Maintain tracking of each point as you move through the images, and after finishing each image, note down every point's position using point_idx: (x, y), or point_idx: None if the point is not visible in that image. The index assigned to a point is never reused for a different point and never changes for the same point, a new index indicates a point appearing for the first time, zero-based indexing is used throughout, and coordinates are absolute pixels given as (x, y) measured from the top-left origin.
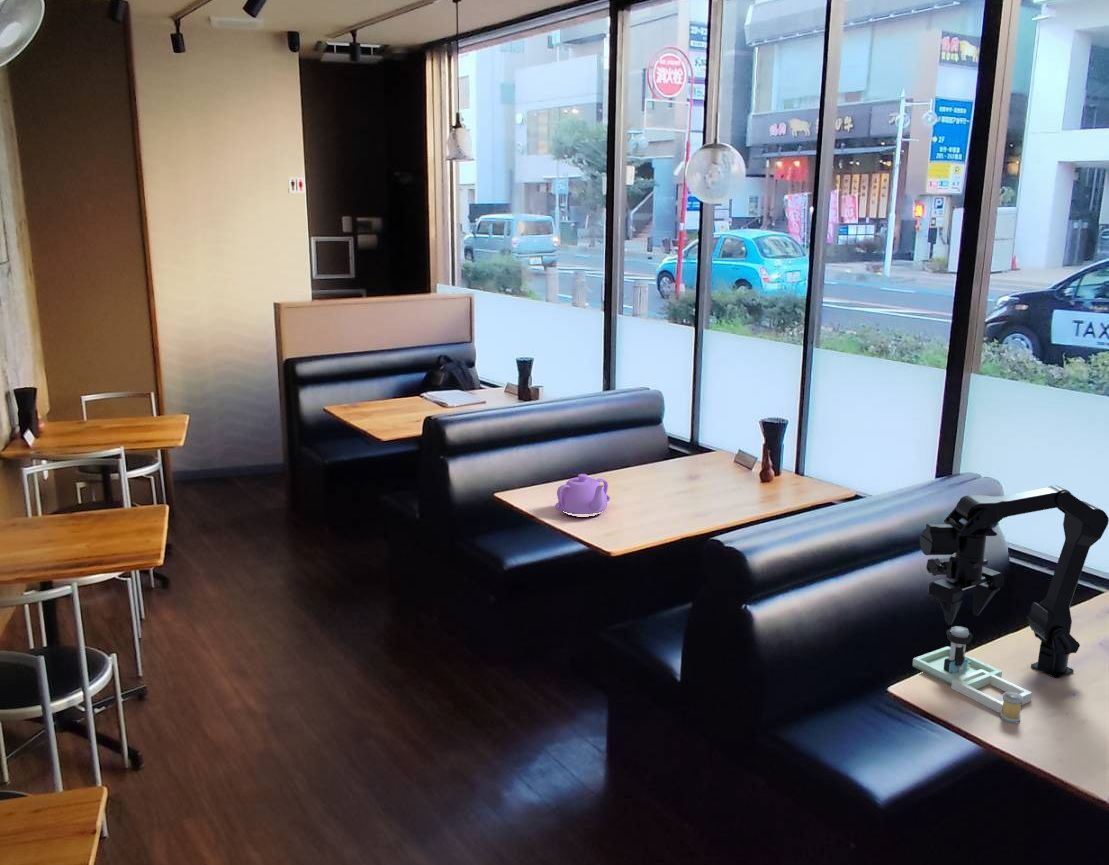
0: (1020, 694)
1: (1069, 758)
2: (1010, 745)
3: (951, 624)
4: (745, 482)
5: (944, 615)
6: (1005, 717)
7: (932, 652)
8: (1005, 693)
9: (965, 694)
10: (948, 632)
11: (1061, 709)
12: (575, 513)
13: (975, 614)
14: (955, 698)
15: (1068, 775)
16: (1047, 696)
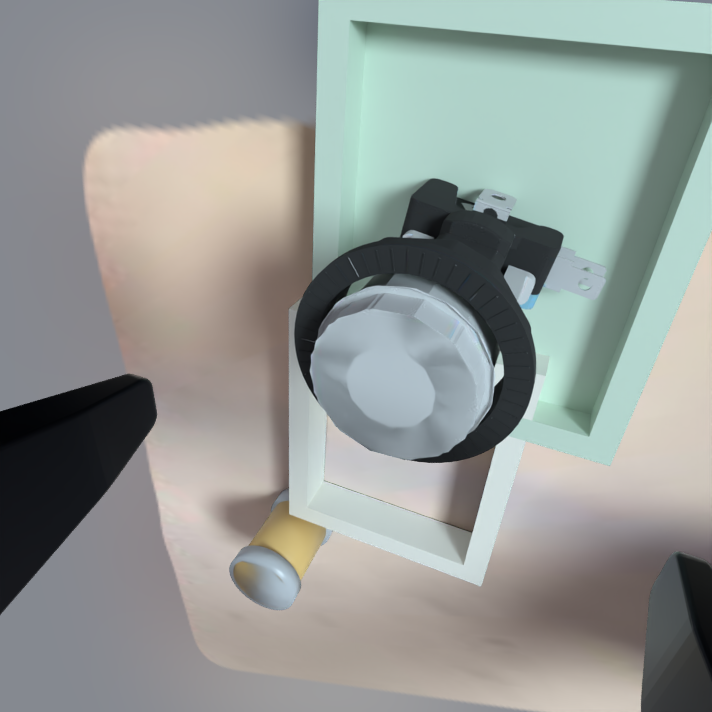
0: (424, 554)
1: (261, 633)
2: (183, 529)
3: (151, 422)
4: None
5: (19, 408)
6: (271, 512)
7: (540, 5)
8: (253, 563)
9: None
10: (341, 278)
11: (515, 631)
12: None
13: (660, 583)
14: (255, 336)
15: (201, 627)
16: (590, 597)
